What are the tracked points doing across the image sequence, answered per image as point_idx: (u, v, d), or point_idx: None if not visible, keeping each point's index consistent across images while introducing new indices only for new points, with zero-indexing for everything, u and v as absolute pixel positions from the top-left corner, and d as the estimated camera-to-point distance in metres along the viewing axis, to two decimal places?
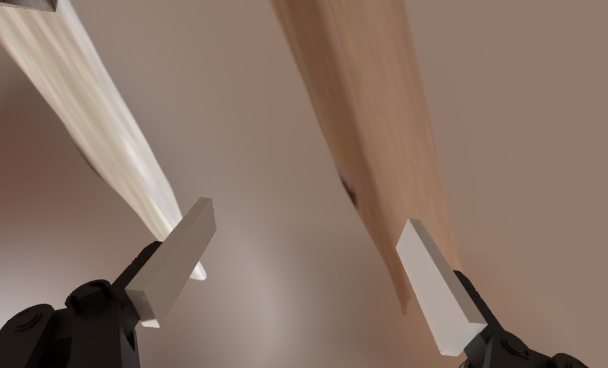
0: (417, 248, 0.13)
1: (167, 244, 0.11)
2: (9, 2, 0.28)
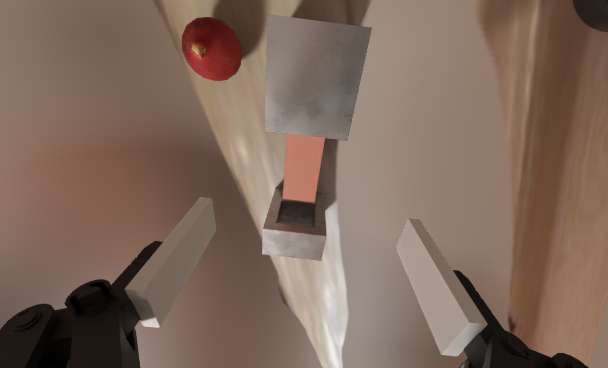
0: (417, 248, 0.13)
1: (167, 244, 0.11)
2: None
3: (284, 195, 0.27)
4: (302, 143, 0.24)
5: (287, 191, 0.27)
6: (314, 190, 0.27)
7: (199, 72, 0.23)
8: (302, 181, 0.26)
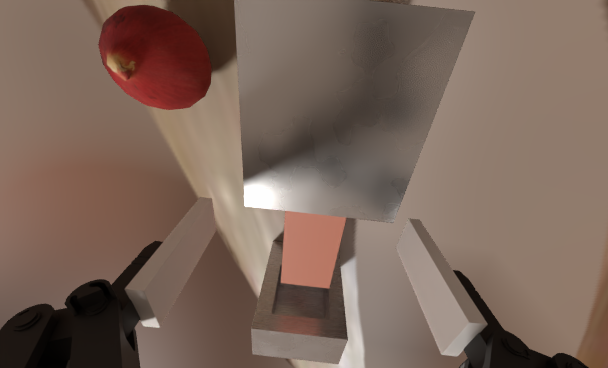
0: (417, 248, 0.13)
1: (167, 244, 0.11)
2: None
3: (283, 279, 0.18)
4: None
5: (288, 275, 0.17)
6: (329, 274, 0.17)
7: (137, 99, 0.14)
8: (311, 263, 0.17)
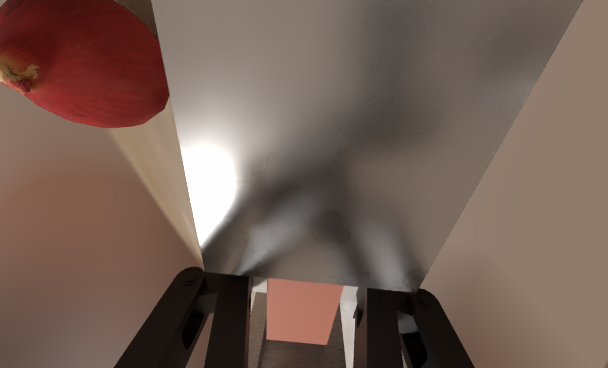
0: None
1: None
2: None
3: (269, 335, 0.14)
4: None
5: (275, 331, 0.14)
6: (327, 330, 0.14)
7: (62, 116, 0.10)
8: (303, 319, 0.13)
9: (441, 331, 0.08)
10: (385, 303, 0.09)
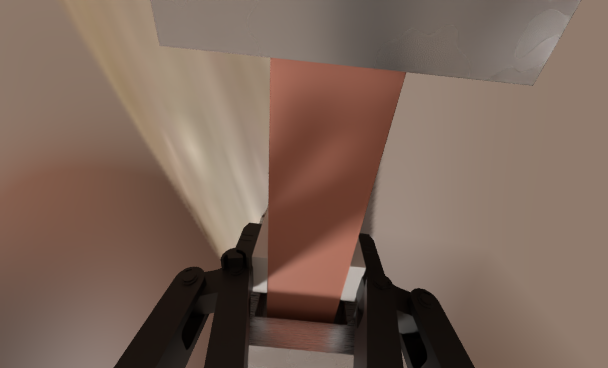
0: None
1: (267, 224, 0.12)
2: None
3: None
4: (302, 265, 0.11)
5: None
6: None
7: None
8: (304, 319, 0.13)
9: (441, 331, 0.08)
10: (385, 303, 0.09)
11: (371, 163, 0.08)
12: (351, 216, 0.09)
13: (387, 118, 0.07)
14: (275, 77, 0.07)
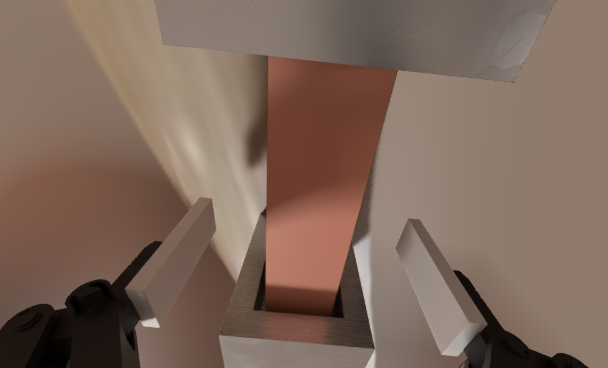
0: (417, 247, 0.13)
1: (167, 244, 0.11)
2: None
3: None
4: (300, 260, 0.11)
5: None
6: None
7: None
8: (301, 314, 0.13)
9: None
10: None
11: (365, 160, 0.08)
12: (347, 211, 0.09)
13: (380, 117, 0.07)
14: (273, 77, 0.07)
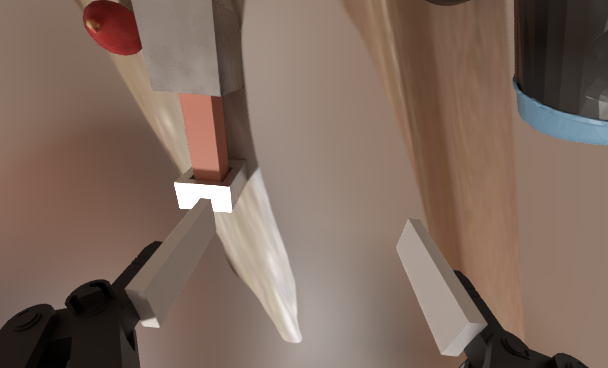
0: (417, 248, 0.13)
1: (167, 244, 0.11)
2: (239, 196, 0.38)
3: None
4: (202, 156, 0.32)
5: None
6: None
7: (102, 46, 0.27)
8: None
9: None
10: None
11: (211, 117, 0.29)
12: (211, 135, 0.30)
13: (210, 104, 0.28)
14: (180, 95, 0.28)
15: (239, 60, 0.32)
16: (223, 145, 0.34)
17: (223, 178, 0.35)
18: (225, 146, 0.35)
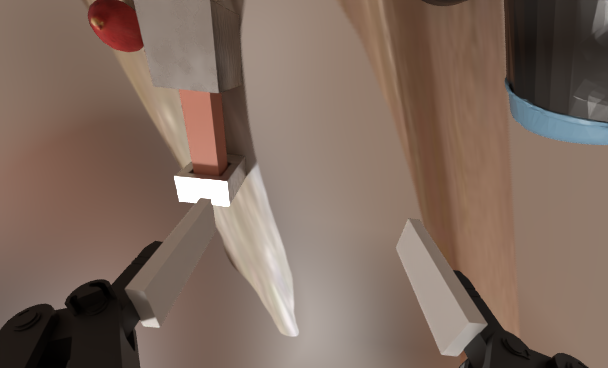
0: (417, 248, 0.13)
1: (167, 244, 0.11)
2: (237, 190, 0.39)
3: None
4: (201, 151, 0.33)
5: None
6: None
7: (106, 43, 0.28)
8: None
9: None
10: None
11: (209, 113, 0.30)
12: (210, 130, 0.31)
13: (209, 101, 0.29)
14: (180, 91, 0.29)
15: (238, 57, 0.33)
16: (222, 141, 0.35)
17: (221, 173, 0.36)
18: (224, 142, 0.36)
